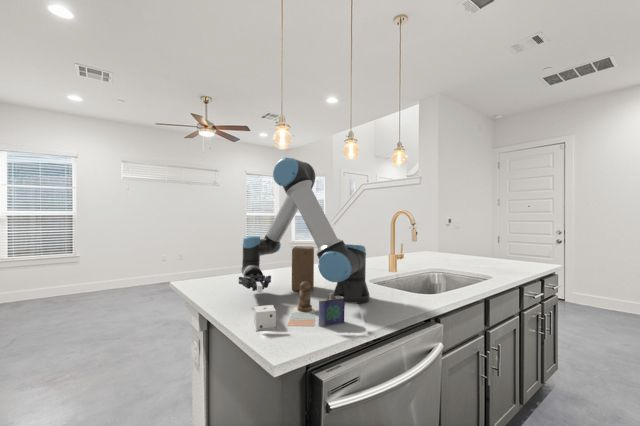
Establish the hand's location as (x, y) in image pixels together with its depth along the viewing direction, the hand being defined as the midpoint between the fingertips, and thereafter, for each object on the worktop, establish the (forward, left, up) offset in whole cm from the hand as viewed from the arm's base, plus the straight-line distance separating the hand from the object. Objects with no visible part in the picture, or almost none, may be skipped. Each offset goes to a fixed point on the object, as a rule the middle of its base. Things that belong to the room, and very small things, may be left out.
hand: (260, 290), depth 103 cm
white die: (-3, +8, -10) cm, 13 cm away
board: (-15, -1, -10) cm, 18 cm away
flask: (-25, +6, -10) cm, 27 cm away
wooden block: (-11, -41, -10) cm, 44 cm away
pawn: (-15, -7, -9) cm, 19 cm away
